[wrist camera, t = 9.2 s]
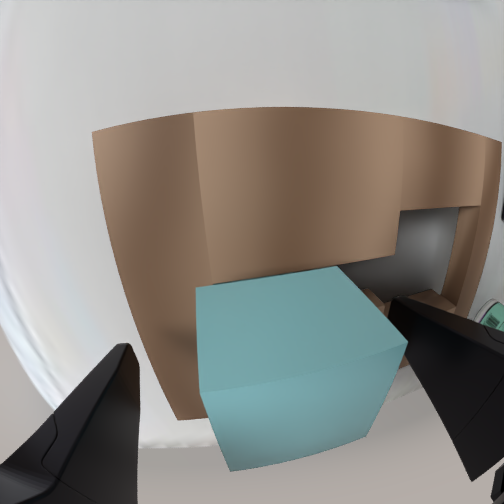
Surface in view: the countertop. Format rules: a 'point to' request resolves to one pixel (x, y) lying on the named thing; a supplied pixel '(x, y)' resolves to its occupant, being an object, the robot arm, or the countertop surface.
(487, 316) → the spray can
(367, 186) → the keyhole plate
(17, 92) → the countertop surface
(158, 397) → the countertop surface
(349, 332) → the teal peg
